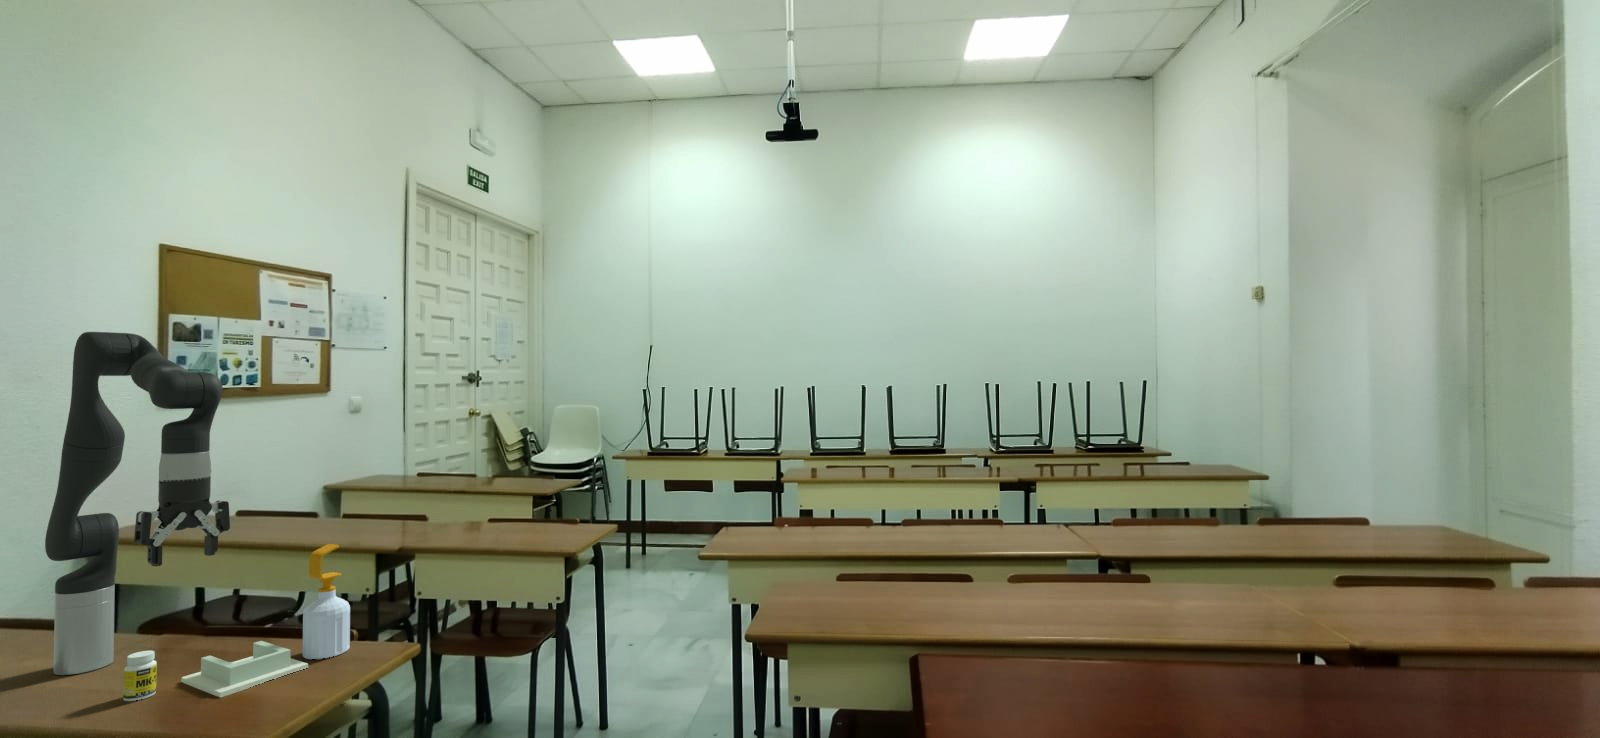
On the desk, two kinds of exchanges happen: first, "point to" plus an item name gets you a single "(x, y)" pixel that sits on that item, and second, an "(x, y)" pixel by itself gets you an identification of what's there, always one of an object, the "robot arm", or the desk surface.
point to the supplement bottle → (140, 676)
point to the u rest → (243, 670)
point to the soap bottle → (325, 614)
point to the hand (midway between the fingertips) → (183, 560)
